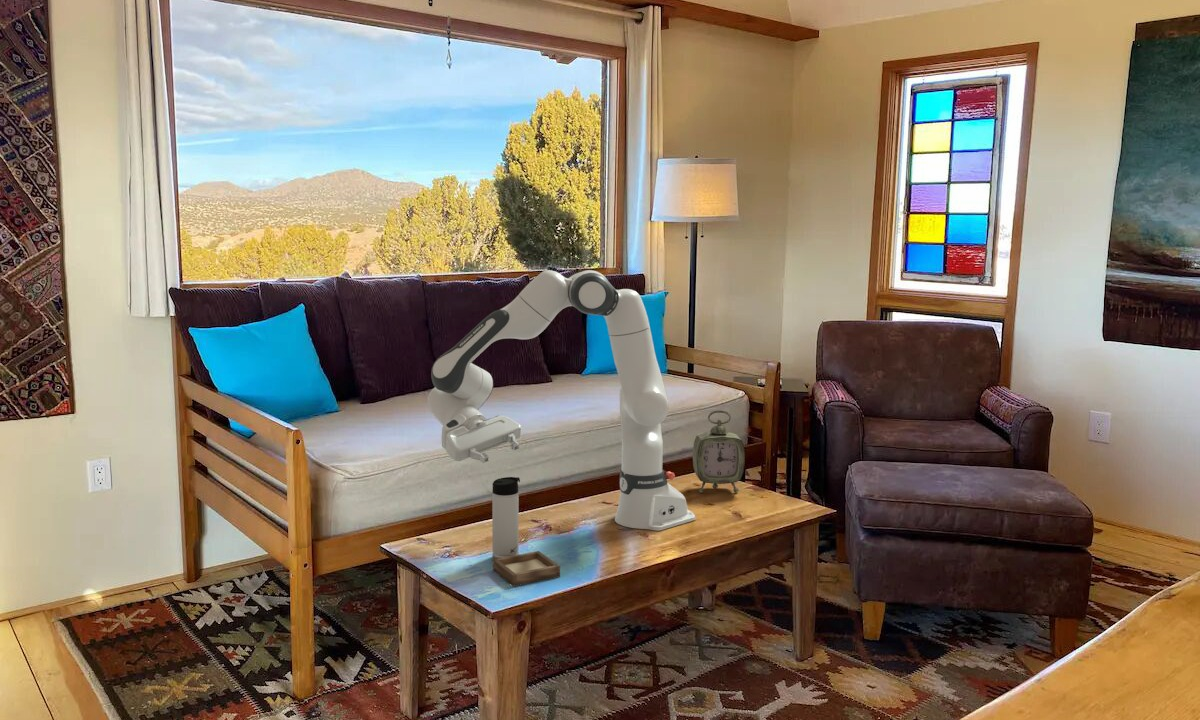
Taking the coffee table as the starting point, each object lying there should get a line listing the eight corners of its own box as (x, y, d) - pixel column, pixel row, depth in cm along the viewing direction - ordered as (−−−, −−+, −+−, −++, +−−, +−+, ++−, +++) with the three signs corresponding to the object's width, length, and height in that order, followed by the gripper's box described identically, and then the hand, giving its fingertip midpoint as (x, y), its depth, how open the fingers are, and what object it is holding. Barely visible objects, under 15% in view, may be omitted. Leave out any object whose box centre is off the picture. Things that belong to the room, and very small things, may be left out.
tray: (538, 561, 224) (538, 550, 223) (560, 576, 214) (560, 566, 214) (492, 570, 218) (492, 559, 217) (512, 586, 208) (512, 575, 208)
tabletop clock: (695, 495, 278) (698, 413, 274) (690, 486, 287) (692, 407, 283) (743, 494, 280) (746, 413, 276) (736, 486, 288) (739, 407, 285)
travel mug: (519, 562, 223) (519, 482, 219) (492, 563, 222) (491, 482, 219) (520, 553, 229) (520, 474, 226) (493, 553, 228) (492, 474, 225)
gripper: (502, 424, 248) (533, 450, 239) (436, 448, 235) (467, 477, 227) (503, 404, 244) (535, 430, 236) (437, 428, 232) (468, 456, 223)
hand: (501, 453), depth 231 cm, fingers open, 8 cm apart
